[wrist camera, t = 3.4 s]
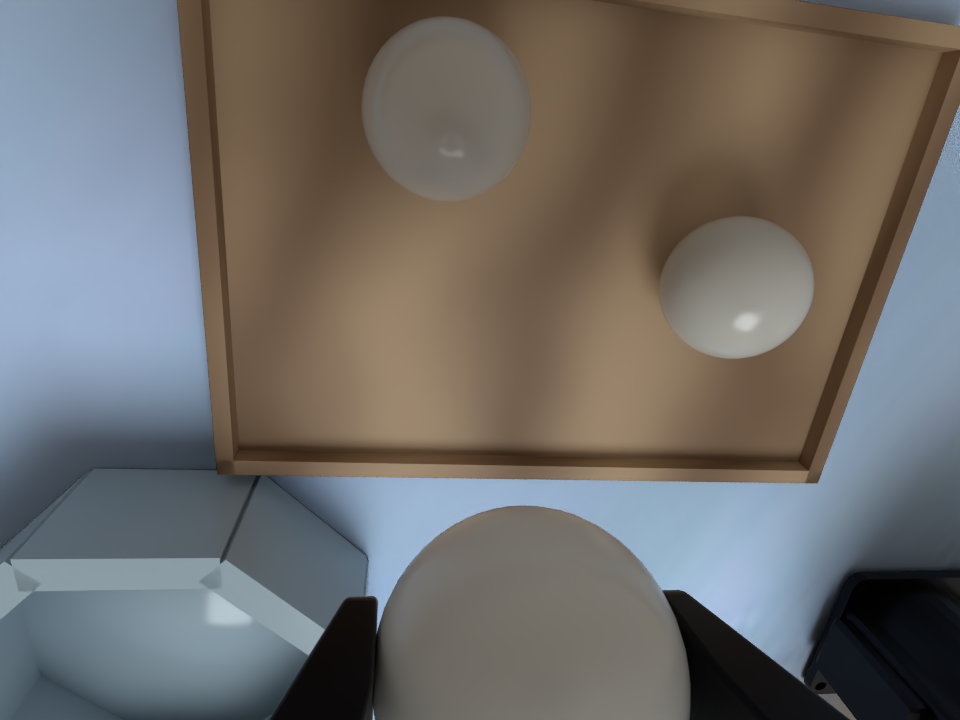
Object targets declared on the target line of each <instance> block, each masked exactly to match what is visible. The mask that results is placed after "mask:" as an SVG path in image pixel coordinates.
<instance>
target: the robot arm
mask: <svg viewBox="0 0 960 720" xmlns="http://www.w3.org/2000/svg"><path fill="white" fill-rule="evenodd" d="M662 591H663V593H664V595H665V597H666V599H667V601H668V603H669V605H670V607H671V609H672V611H673V613H674V615H675V617H676V620H677V623H678V626H679V630H680V633H681V636H682V639H683V643H684V646H685V649H686V654H687V661H688V668H689V676H690V718H689V720H850V719H848V718H847V717H846V716H845V715H843V714H842V713H841V712H839V711H838V710H837V709H836V708H834V707H833V706H832V705H830V704H829V703H828V702H827V701H825V700H824V699H823V698H821V697H820V696H819V695H818V694H833V693H837V695H838V696H839V697H840V699H841V700H842V701H843V702H844V704H845V705H846V706H847V708H848V709H849V710H850V712H851V713H852V714H853V715H854V717H855V718H856V719H857V720H960V571H903V572H858V573H855V574H853V575H851V576H850V577H849V578H848V579H847V581H846V583H845V585H844V587H843V590H842V592H841V594H840V597H839V599H838V601H837V604H836V606H835V608H834V611H833V613H832V615H831V618H830V620H829V622H828V625H827V627H826V629H825V632H824V634H823V636H822V639H821V641H820V643H819V646H818V648H817V650H816V653H815V655H814V657H813V660H812V662H811V664H810V667H809V669H808V671H807V674H806V676H805V678H804V683H805V684H803V683H802V682H801V681H800V680H798V679H797V678H796V677H794V676H793V675H792V674H791V673H789V672H788V671H787V670H785V669H784V668H783V667H782V666H780V665H779V664H778V663H776V662H775V661H774V660H773V659H771V658H770V657H769V656H767V655H766V654H765V653H764V652H762V651H761V650H760V649H758V648H757V647H756V646H755V645H753V644H752V643H751V642H749V641H748V640H747V639H745V638H744V637H743V636H742V635H740V634H739V633H738V632H736V631H735V630H734V629H733V628H731V627H730V626H729V625H727V624H726V623H725V622H724V621H722V620H721V619H720V618H718V617H717V616H716V615H715V614H713V613H712V612H711V611H709V610H708V609H707V608H706V607H704V606H703V605H702V604H700V603H699V602H698V601H697V600H695V599H694V598H693V597H691V596H690V595H689V594H687V593H686V592H684V591H680V590H662ZM377 611H378V600H377V598H376V597H374V596H358V597H348V598H346V599H345V600H344V601H343V602H342V604H341V605H340V607H339V608H338V610H337V611H336V613H335V615H334V616H333V618H332V619H331V621H330V623H329V624H328V626H327V627H326V629H325V630H324V632H323V634H322V635H321V637H320V638H319V640H318V642H317V643H316V645H315V646H314V648H313V649H312V651H311V653H310V654H309V656H308V657H307V659H306V661H305V662H304V664H303V665H302V667H301V668H300V670H299V672H298V673H297V675H296V676H295V678H294V679H293V681H292V683H291V684H290V686H289V687H288V689H287V691H286V692H285V694H284V695H283V697H282V698H281V700H280V702H279V703H278V705H277V706H276V708H275V710H274V711H273V713H272V714H271V716H270V717H269V719H268V720H372V719H373V687H374V665H375V646H376V635H377Z"/></svg>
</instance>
